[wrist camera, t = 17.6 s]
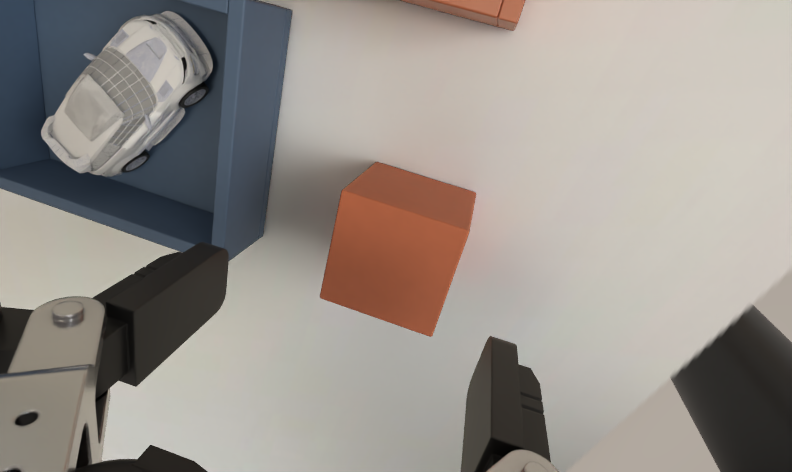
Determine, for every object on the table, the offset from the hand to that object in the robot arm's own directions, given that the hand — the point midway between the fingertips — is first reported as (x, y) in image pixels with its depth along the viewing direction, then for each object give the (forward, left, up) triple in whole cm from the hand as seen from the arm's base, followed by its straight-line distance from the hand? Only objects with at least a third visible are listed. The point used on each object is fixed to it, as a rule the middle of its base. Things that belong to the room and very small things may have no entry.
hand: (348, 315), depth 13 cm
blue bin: (+13, -2, -8) cm, 15 cm away
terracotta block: (0, 0, -8) cm, 8 cm away
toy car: (+12, -2, -7) cm, 15 cm away
